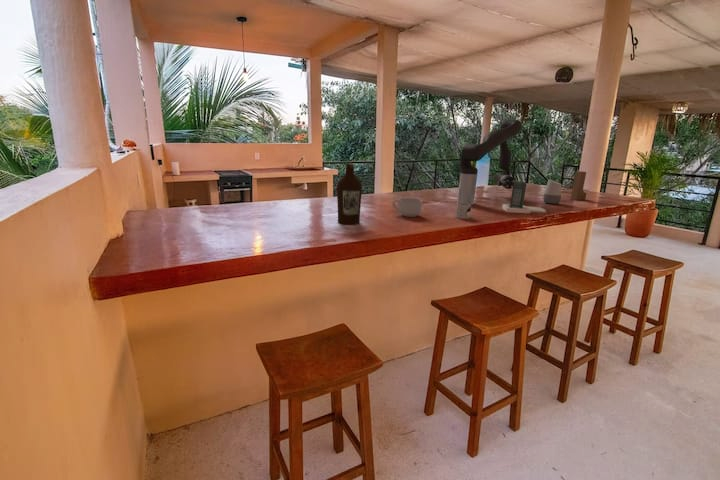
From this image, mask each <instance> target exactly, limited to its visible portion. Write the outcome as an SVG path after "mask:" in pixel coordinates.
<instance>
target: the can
mask: <svg viewBox="0 0 720 480" xmlns="http://www.w3.org/2000/svg"><path fill="white" fill-rule="evenodd" d="M526 189H527V182H524V181H522V182H520V181H519V182H514V183H513V188H512V189H511V198H510V203H509V205H510V208H521V209H523V205H524V202H525V195H526V191H527V190H526Z"/></svg>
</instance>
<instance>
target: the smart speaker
mask: <svg viewBox="0 0 720 480" xmlns="http://www.w3.org/2000/svg"><path fill="white" fill-rule="evenodd" d="M562 187H563V186H562V183H560V182H557V181H555V180H552V179H548V180H547V183H546V187H545V189H544V190H545V191H544V193H543V203H545V204H547V205H558V204H560V202H561V199H562Z"/></svg>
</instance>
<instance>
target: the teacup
mask: <svg viewBox="0 0 720 480" xmlns="http://www.w3.org/2000/svg"><path fill="white" fill-rule="evenodd" d="M395 202H397V204H398V206H397V205H396V204H395ZM422 203H423V200H422V199H420V198H417V197H400V198H399V199H398V198H395V199H394V200H392V207H393V208H394V209H396V210H397V211H398V212H400V214H401V215H402V216H404V217H407V218H415V217H418V215H420V213H421V211H422Z"/></svg>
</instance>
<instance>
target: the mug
mask: <svg viewBox="0 0 720 480" xmlns="http://www.w3.org/2000/svg"><path fill="white" fill-rule="evenodd" d="M471 210H472V205H471V204H469V203H457V202H456V209H455V219H461V220H470V219H471Z"/></svg>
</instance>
